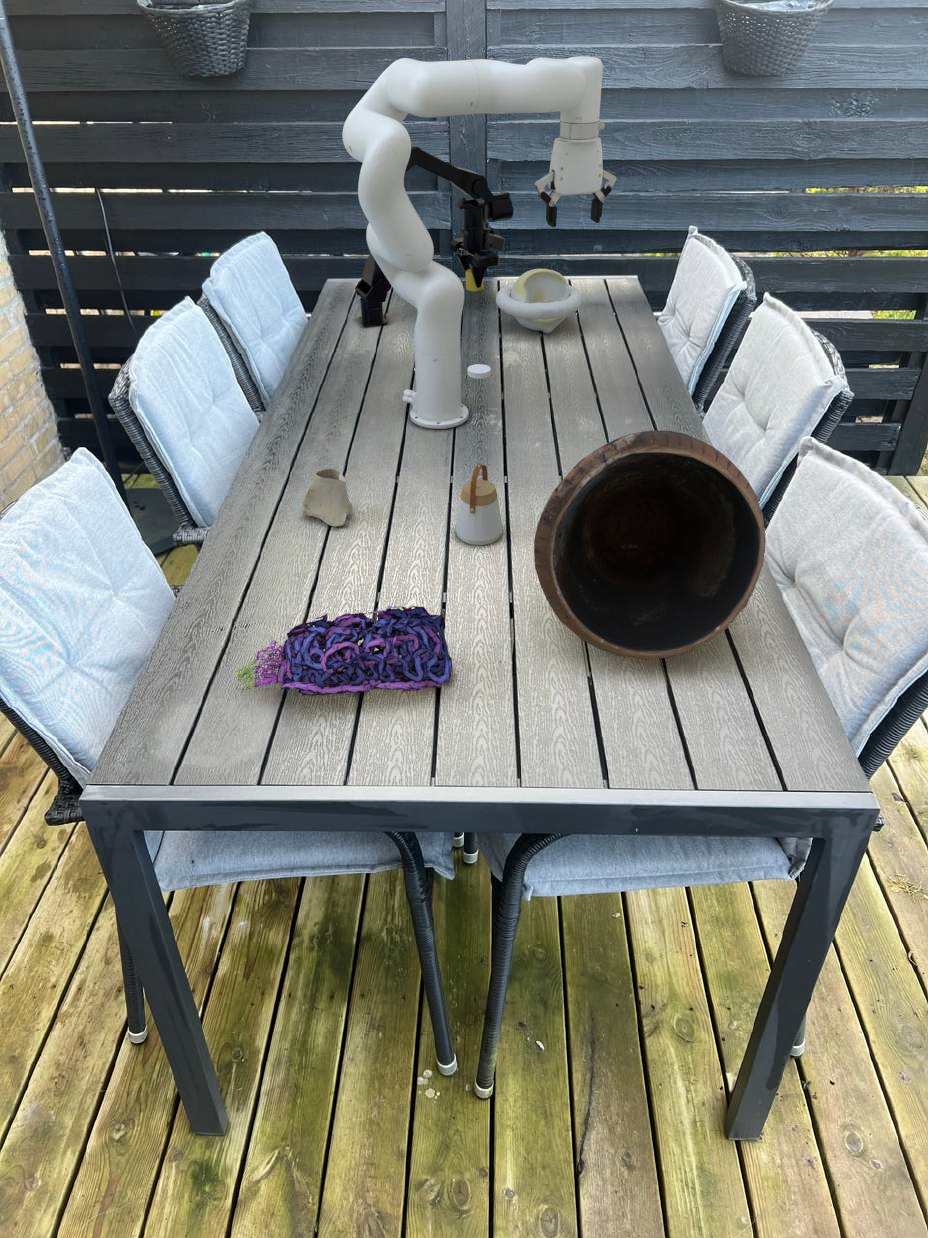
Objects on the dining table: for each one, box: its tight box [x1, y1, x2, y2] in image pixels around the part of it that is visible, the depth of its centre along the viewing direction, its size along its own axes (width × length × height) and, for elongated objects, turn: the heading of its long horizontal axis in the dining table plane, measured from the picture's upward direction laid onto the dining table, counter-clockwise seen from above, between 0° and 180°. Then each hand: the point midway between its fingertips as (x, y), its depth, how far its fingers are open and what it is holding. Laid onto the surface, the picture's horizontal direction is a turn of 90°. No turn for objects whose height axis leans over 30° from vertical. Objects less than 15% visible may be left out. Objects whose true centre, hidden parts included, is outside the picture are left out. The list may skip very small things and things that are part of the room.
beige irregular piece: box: [301, 468, 353, 528], centre depth 164 cm, size 9×8×10 cm
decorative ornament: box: [235, 605, 454, 697], centre depth 129 cm, size 13×11×30 cm
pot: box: [533, 429, 767, 660], centre depth 139 cm, size 32×32×30 cm
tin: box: [465, 269, 485, 292], centre depth 252 cm, size 5×5×5 cm
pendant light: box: [455, 363, 503, 546], centre depth 153 cm, size 8×8×30 cm
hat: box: [495, 268, 583, 334], centre depth 236 cm, size 25×22×15 cm
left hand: (474, 284), depth 253 cm, fingers closed on tin, 5 cm apart
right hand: (573, 223), depth 191 cm, fingers open, 9 cm apart
